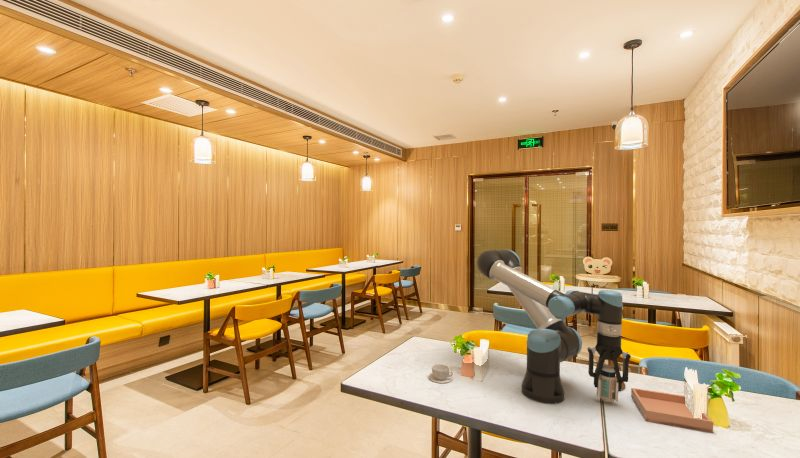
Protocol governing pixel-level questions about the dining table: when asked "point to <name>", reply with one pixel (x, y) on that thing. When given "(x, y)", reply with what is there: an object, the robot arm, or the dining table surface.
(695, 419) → the terracotta dish
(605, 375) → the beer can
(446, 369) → the teacup
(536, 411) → the dining table surface
